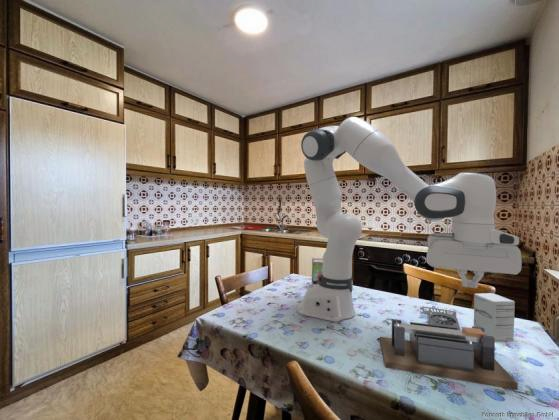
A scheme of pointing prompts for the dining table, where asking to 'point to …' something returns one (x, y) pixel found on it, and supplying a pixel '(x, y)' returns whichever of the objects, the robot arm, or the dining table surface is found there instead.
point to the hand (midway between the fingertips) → (469, 287)
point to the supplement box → (494, 315)
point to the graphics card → (441, 317)
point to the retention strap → (444, 332)
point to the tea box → (316, 269)
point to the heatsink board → (444, 372)
